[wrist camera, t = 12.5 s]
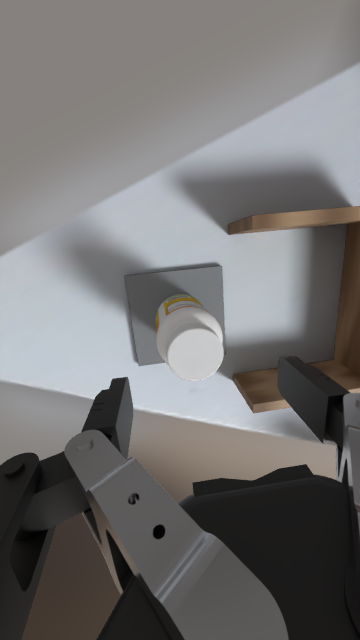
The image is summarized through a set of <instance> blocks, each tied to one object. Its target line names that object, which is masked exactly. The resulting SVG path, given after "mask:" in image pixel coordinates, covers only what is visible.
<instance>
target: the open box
mask: <svg viewBox="0 0 360 640" xmlns="http://www.w3.org/2000/svg"><path fill="white" fill-rule="evenodd" d="M339 224H347V234H346V244H345V253H344V263H343V273H342V283H341V292H340V302H339V312H338V322H337V331H336V341H335V351H334V360H329V361H322V362H315V363H308V364H309V365H311V366H313V367H316V368H318V369H319V370H320V371H322V372H323V373H324V374H325V375H327V376H329V377H330V378H331V379H333V380H334V381H335V382H337V383H338V384H340V385H341V386H342V387H344V388H345V389H346V390H348V391H349V392H351V393H360V206H354V207H343V208H331V209H320V210H308V211H297V212H285V213H274V214H262V215H252V216H249V217H247V218H244V219H241V220H239V221H236V222H233V223H231V224H228V227H229V235H232V234H243V233H253V232H264V231H275V230H286V229H296V228H307V227H318V226H329V225H339ZM233 382H234V383H235V385H236V386H237V388H238V390H239V391H240V393H241V394H242V396H243V398H244V399H245V401H246V402H247V404H248V406H249V407H250V409H251V410H252V412H253V413H258V412H265V411H271V410H277V409H284V408H290V407H291V406H290V405H289V404H288V403H287V401H286V400H285V399H284V398H283V397H282V396H281V394H280V392H279V389H278V368H273V369H266V370H259V371H251V372H244V373H237V374H233Z"/></svg>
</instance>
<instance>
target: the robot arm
mask: <svg viewBox="0 0 360 640" xmlns="http://www.w3.org/2000/svg"><path fill="white" fill-rule="evenodd" d="M278 389H279V392H280V394H281V396H282V397H283V398H284V399H285V400H286V401H287V403H288V404H289V405H290V406H291V407H292V408H293V410H294V411H295V412H296V413H297V414H298V415H299V417H300V418H301V419H302V420H303V421H304V422H305V423H306V425H307V426H308V427H309V428H310V429H311V430H312V432H313V433H314V434H315V435H316V436H317V437H318V438H319V440H320V441H321V442H322V443H323V444H324V443H330V442H335V443H336V444H337V448H336V475H337V476H336V480H334V479H332V478H328V477H324V476H320V475H313V473H312V472H311V471H310V469H309V468H308V466H307V465H306V464H305V465H299V466H293V467H287V468H281V469H277V470H275V471H273V472H271V473H269V474H267V475H265V476H263V477H261V478H258V479H256V480H253V481H249V480H237V479H226V478H220V479H214V480H207V481H201V482H194V483H193V493H194V494H192V495H190V496H188V497H186V498H185V499H183V500H182V501H180V502H179V503H177V502H176V501H175V500H174V499H173V498H172V497H171V496H170V495H169V494H168V493H167V492H166V491H165V490H164V489H163V488H162V486H161V485H160V484H159V483H158V482H157V481H156V480H155V479H154V478H153V477H152V476H151V475H150V474H149V472H148V471H147V470H146V469H145V468H144V467H143V466H142V465H141V464H140V463H139V462H138V461H137V460H136V459H135V458H133V457H131V458H130V459H128V460H127V456H128V448H129V441H130V434H131V427H132V419H133V403H132V397H131V391H130V385H129V380H128V377H123V378H115V379H112V381H111V385H110V388H109V389H107V390H102V391H101V392H100V393H99V394H98V395H97V396H96V397H95V400H94V402H93V406H92V407H91V410H90V412H89V414H88V417H87V419H86V422H85V424H84V427H83V429H82V432H81V433H79V434H77V435H76V436H74V437H73V438H72V439H71V440H70V441H69V442H68V443H67V445H66V447H65V450H64V451H63V452H62V453H59V454H57V455H54V456H52V457H49V458H47V459H44V460H41V461H39V458H38V456H37V455H36V454H34V453H23V454H19V455H17V456H14V457H12V458H11V459H9V460H7V461H6V462H4V463H3V464H2V465H0V640H22V637H23V633H24V630H25V627H26V624H27V620H28V617H29V613H30V610H31V607H32V603H33V600H34V597H35V594H36V591H37V587H38V584H39V581H40V578H41V574H42V571H43V568H44V564H45V561H46V558H47V554H48V551H49V548H50V545H51V541H52V538H53V535H54V532H55V528H56V525H57V524H59V523H61V522H63V521H64V520H67V519H69V518H71V517H73V516H75V515H77V514H79V513H81V512H82V514H83V516H84V518H85V520H86V522H87V523H88V526H89V527H90V529H91V531H92V533H93V535H94V537H95V539H96V541H97V543H98V545H99V547H100V549H101V551H102V553H103V555H104V557H105V560H106V562H107V565H108V567H109V570H110V572H111V575H112V577H113V579H114V581H115V584H116V586H117V588H118V590H119V592H120V594H121V597H120V599H119V600H118V602H117V604H116V606H115V607H114V609H113V611H112V613H111V615H110V616H109V618H108V620H107V622H106V623H105V625H104V627H103V629H102V631H101V633H100V634H99V636H98V638H97V639H96V640H360V393H351V392H349V391H348V390H346V389H345V388H344V387H342V386H341V385H340V384H338V383H337V382H335V381H334V380H333V379H331V378H330V377H329V376H327V375H325V374H324V373H323V372H322V371H320V370H319V369H318V368H316V367H313V366H311V365H309V364H305V363H304V362H303V361H301V360H300V359H299V358H297V357H296V356H290V357H282V358H280V359H279V362H278Z"/></svg>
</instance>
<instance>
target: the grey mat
mask: <svg viewBox="0 0 360 640" xmlns="http://www.w3.org/2000/svg"><path fill="white" fill-rule="evenodd" d="M125 283H126V289H127V295H128V302H129V308H130V314H131V321H132V327H133V333H134V340H135V346H136V352H137V359H138V365H139V366H143V365H150V364H158V363H165V361H164V360H163V359H162V358H161V356H160V354H159V352H158V349H157V344H156V314H157V310H158V308H159V306H160V305H161V304H162V303H163V302H164V301H165V300H166V299H167V298H169V297H171V296H174V295H178V294H185V295H189V296H192V297H194V298H195V299H197V300H198V301H199V302H200V303H201V304H202V305H203V306H204V307H205V308H206V309H207V310H208V311H209V313H210V314H212V315H213V317H214V318H215V319H216V320H217V322H218V323H219V325H220V327H221V330H222V335H223V342H222V345H223V351H224V354H223V355H225V354H226V352H225V327H224V302H223V278H222V266H214V267H204V268H195V269H185V270H175V271H166V272H156V273H146V274H137V275H127V276H125Z"/></svg>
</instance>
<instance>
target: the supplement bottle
mask: <svg viewBox="0 0 360 640" xmlns="http://www.w3.org/2000/svg"><path fill="white" fill-rule="evenodd" d="M222 342H223V335H222V330H221V327H220V325H219V323H218V322H217V320H216V319H215V318H214V317H213V315H212V314H210V313H209V311H208V310H207V309H206V308H205V307H204V306H203V305H202V304H201V303H200V302H199V301H198V300H197V299H195V298H194V297H192V296H189V295H185V294H178V295H174V296H171V297H169V298H167V299H166V300H165V301H164V302H163V303H162V304H161V305H160V306H159V308H158V310H157V314H156V344H157V349H158V352H159V354H160V356H161V358H162V359H163V360H164V361H165V362H166V363H167V364H168V365H169V367H170V369H171V370H172V371H173V373H174V374H176V375H177V376H178V377H180V378H182V379H184V380H189V381H198V380H202V379H205V378H207V377H209V376H211V375H212V374H214V373H215V372H216V371H217V369H218V368H219V366H220V365H221V363H222V360H223V354H224V351H223V345H222Z"/></svg>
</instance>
